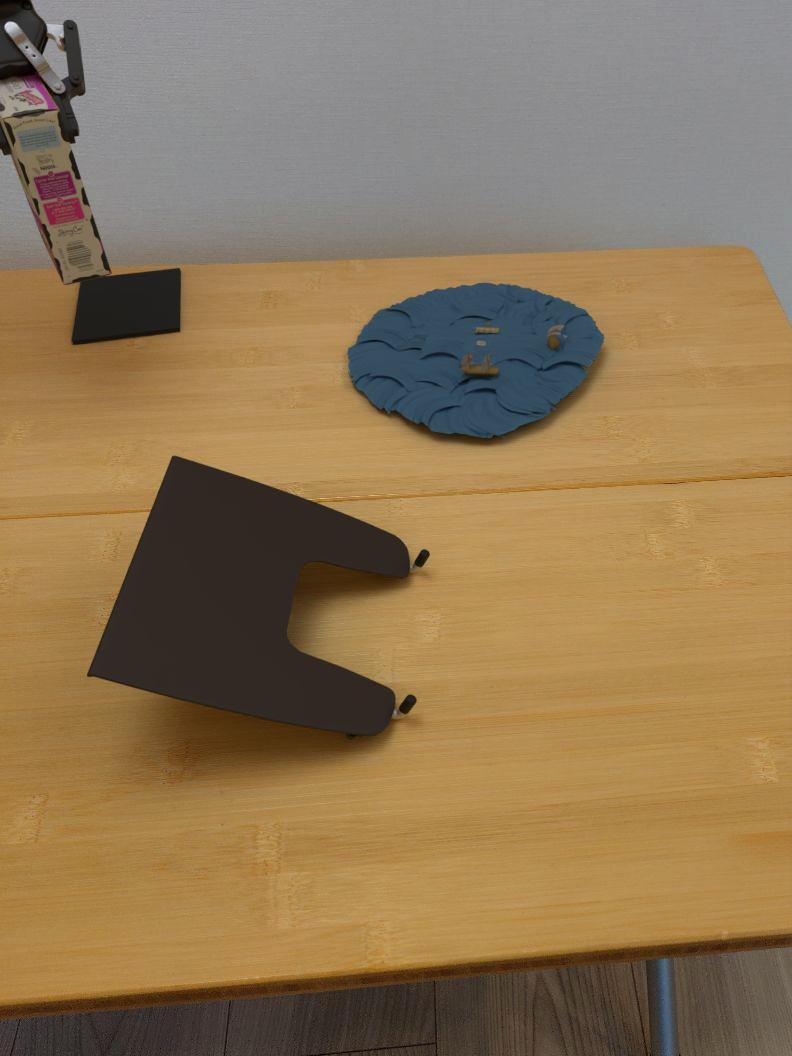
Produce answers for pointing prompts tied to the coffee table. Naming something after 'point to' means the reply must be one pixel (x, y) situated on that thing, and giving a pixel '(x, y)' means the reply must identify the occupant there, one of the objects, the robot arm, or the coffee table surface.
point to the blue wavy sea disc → (474, 357)
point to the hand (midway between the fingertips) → (39, 145)
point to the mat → (128, 306)
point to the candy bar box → (51, 179)
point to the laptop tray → (242, 603)
